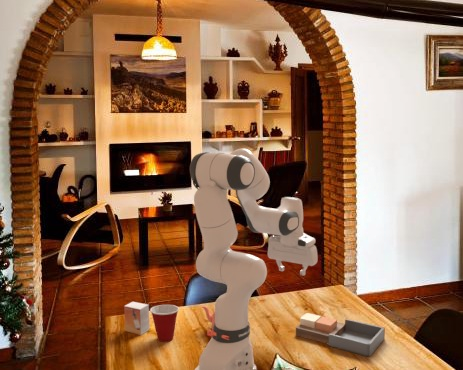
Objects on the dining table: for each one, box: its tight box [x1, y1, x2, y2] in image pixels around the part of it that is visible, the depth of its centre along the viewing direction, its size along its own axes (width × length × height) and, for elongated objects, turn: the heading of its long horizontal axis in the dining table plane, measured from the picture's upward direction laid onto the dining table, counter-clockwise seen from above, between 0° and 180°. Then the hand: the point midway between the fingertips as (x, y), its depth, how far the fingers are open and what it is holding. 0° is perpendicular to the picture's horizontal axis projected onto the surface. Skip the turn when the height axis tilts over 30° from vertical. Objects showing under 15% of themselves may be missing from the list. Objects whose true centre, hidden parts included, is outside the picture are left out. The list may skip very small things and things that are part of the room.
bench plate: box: [295, 321, 346, 345], centre depth 188 cm, size 13×14×3 cm
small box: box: [123, 301, 151, 336], centre depth 193 cm, size 8×6×10 cm
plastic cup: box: [149, 304, 180, 343], centre depth 186 cm, size 11×11×12 cm
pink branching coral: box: [200, 305, 215, 331], centre depth 193 cm, size 12×18×10 cm, turn 81°
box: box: [328, 318, 386, 358], centre depth 180 cm, size 16×15×4 cm
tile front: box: [316, 315, 338, 332], centre depth 187 cm, size 6×6×2 cm
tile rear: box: [299, 312, 322, 328], centre depth 190 cm, size 6×6×2 cm
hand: (292, 272), depth 192 cm, fingers open, 8 cm apart
